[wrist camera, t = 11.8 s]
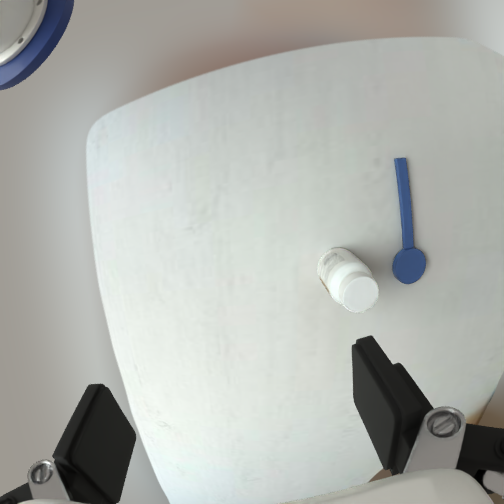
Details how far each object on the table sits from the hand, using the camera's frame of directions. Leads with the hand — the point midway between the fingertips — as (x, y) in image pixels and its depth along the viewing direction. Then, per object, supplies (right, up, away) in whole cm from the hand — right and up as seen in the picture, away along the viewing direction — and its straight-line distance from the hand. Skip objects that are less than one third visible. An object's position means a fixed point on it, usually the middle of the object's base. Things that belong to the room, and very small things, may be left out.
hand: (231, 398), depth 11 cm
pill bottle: (+10, +4, +23) cm, 25 cm away
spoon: (+18, +8, +22) cm, 29 cm away
